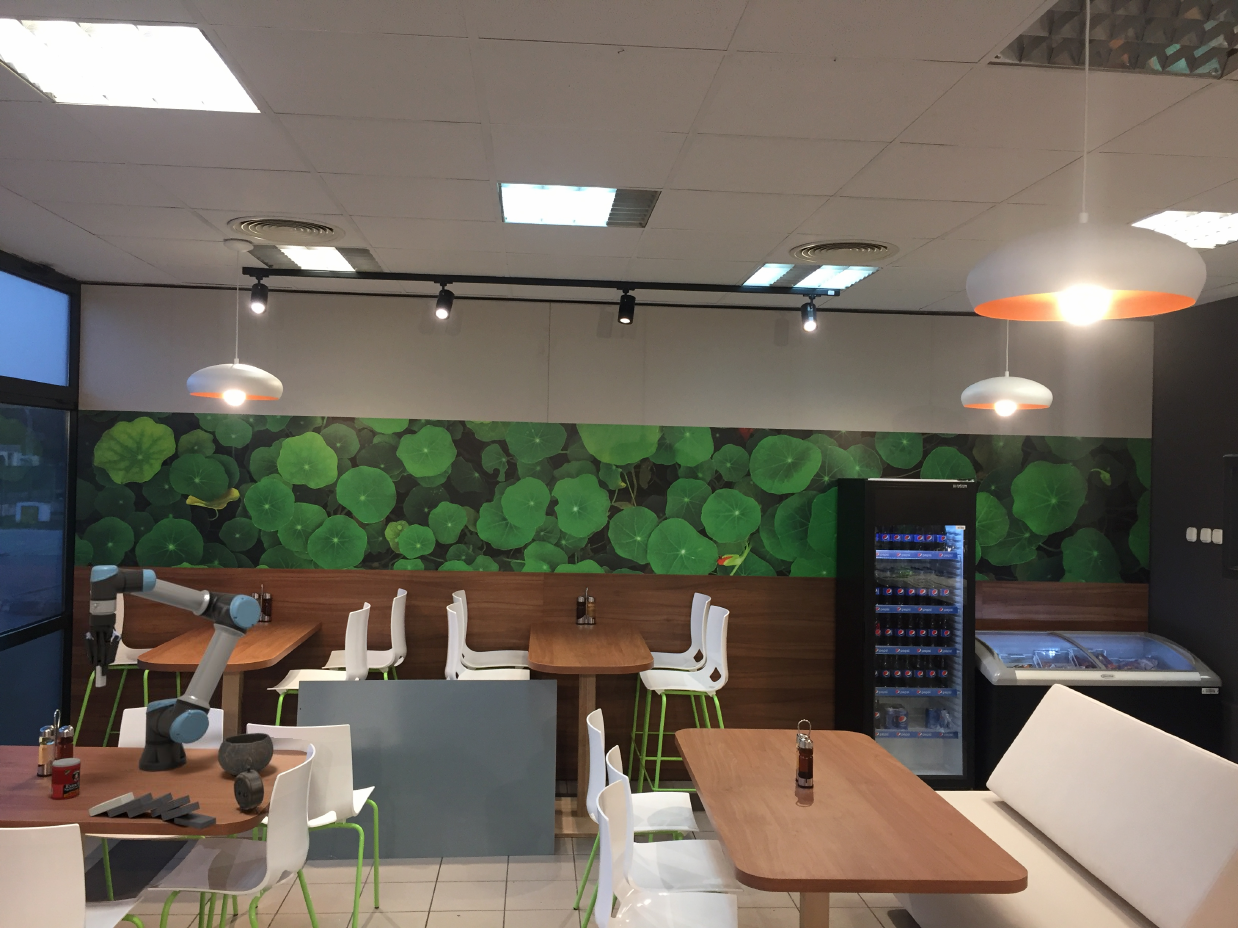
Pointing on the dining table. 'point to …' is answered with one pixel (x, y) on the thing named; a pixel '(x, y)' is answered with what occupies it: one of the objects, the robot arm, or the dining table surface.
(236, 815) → the dining table surface
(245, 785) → the alarm clock
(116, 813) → the tile
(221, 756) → the bowl
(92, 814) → the tile
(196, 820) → the tile
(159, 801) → the tile
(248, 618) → the robot arm
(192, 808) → the tile
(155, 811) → the tile
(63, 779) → the canned food
